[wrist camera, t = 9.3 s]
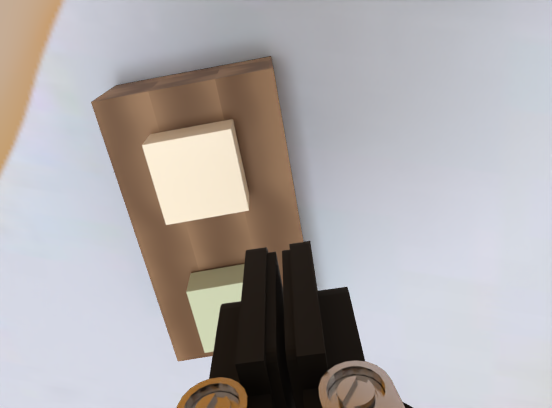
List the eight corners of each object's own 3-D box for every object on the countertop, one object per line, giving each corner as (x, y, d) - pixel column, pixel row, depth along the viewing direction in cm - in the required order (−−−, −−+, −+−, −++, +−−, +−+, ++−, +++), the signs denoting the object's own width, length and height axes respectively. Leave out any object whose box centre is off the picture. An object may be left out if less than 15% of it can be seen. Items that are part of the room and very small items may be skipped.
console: (270, 56, 36) (273, 68, 31) (312, 295, 45) (320, 338, 40) (115, 85, 37) (91, 102, 31) (187, 316, 46) (177, 361, 40)
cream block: (235, 104, 36) (231, 129, 29) (250, 173, 38) (248, 210, 32) (162, 117, 36) (141, 145, 30) (181, 185, 38) (166, 225, 32)
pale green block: (262, 233, 40) (263, 279, 34) (274, 288, 43) (277, 340, 36) (197, 244, 40) (186, 292, 34) (212, 298, 43) (204, 352, 36)
